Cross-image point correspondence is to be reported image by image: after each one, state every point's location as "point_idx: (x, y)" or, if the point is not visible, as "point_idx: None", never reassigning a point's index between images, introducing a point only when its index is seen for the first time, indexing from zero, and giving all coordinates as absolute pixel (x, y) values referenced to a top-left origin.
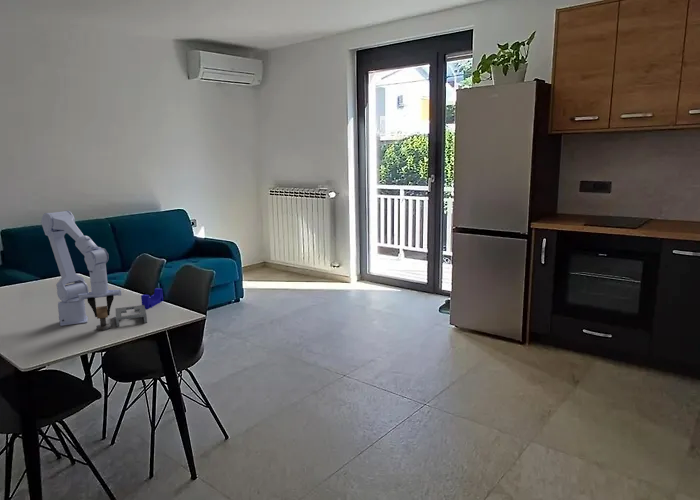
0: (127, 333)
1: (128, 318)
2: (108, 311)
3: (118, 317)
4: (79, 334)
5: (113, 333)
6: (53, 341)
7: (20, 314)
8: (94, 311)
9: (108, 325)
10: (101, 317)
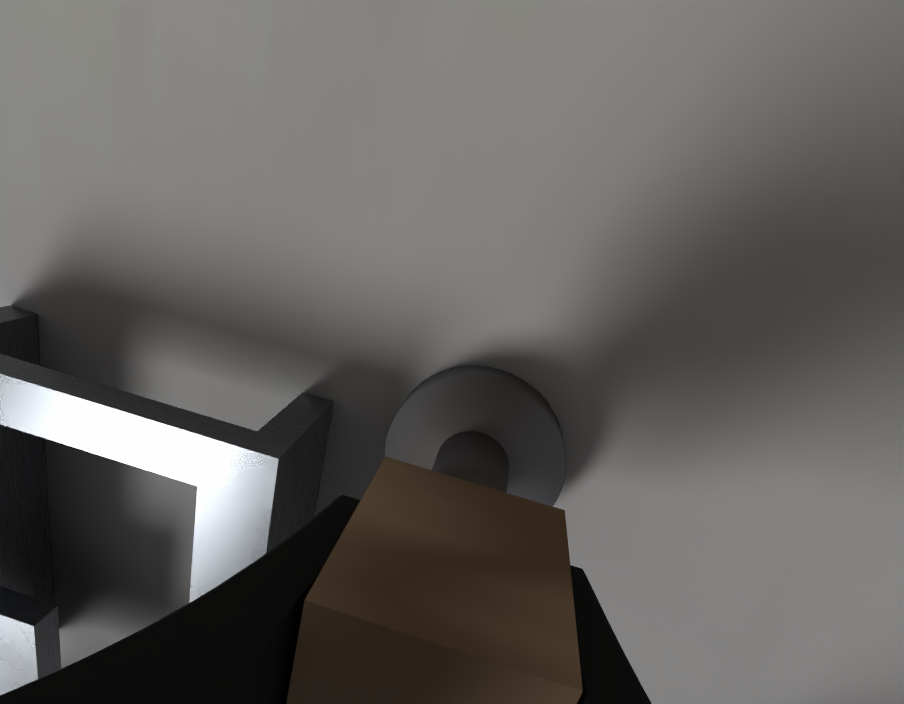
0: (257, 2)
1: (132, 394)
2: (315, 539)
3: (239, 469)
4: (804, 428)
5: (424, 149)
6: None
7: None
8: (620, 669)
9: (417, 426)
10: (489, 498)
